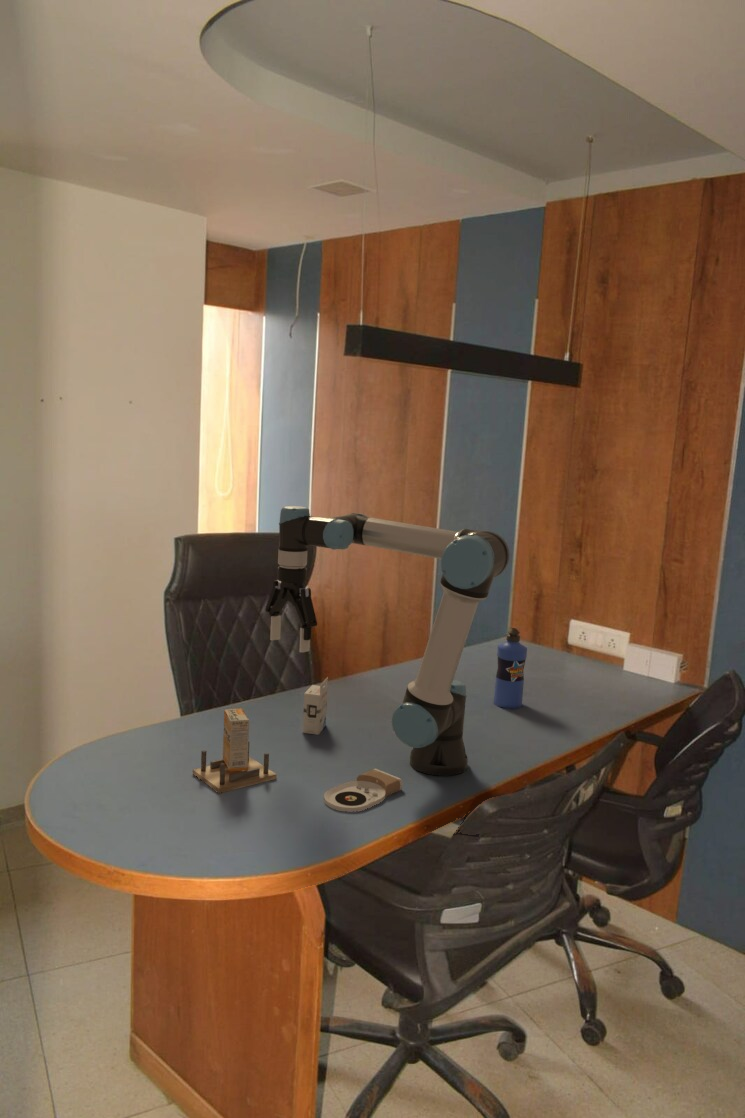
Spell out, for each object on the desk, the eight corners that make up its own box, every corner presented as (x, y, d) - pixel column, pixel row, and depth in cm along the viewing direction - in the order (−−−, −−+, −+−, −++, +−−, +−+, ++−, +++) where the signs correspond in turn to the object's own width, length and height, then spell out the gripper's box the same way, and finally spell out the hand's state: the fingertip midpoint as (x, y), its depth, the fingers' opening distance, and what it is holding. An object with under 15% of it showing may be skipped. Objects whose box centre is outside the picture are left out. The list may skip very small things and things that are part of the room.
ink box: (310, 723, 259) (312, 674, 256) (326, 725, 258) (328, 676, 255) (301, 733, 250) (304, 682, 248) (318, 735, 249) (321, 684, 247)
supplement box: (221, 759, 221) (223, 709, 219) (240, 757, 223) (242, 707, 220) (228, 772, 213) (230, 720, 211) (248, 770, 215) (249, 719, 213)
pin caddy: (276, 778, 219) (277, 754, 218) (218, 793, 208) (219, 768, 207) (248, 761, 228) (249, 738, 227) (192, 774, 218) (193, 750, 217)
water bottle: (527, 707, 284) (534, 631, 279) (502, 709, 280) (508, 632, 276) (512, 698, 292) (519, 624, 288) (487, 700, 289) (493, 625, 284)
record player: (406, 780, 215) (351, 806, 200) (405, 792, 216) (350, 819, 201) (370, 766, 223) (314, 789, 208) (369, 777, 223) (313, 802, 208)
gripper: (333, 573, 223) (329, 654, 226) (277, 557, 242) (275, 633, 245) (308, 575, 218) (305, 658, 222) (254, 559, 237) (251, 636, 240)
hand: (289, 645), depth 233 cm, fingers open, 13 cm apart
